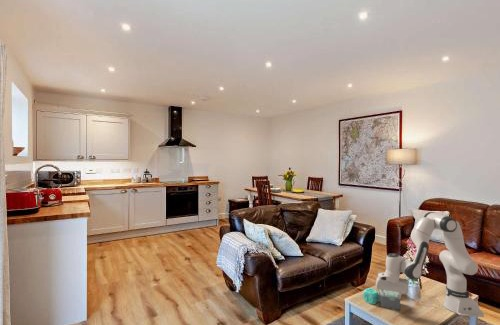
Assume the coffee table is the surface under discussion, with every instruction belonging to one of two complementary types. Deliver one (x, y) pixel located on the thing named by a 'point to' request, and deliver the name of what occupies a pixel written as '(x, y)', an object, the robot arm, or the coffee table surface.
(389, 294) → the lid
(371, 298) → the decorative dice
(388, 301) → the tub
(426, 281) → the coffee table surface
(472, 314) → the robot arm
